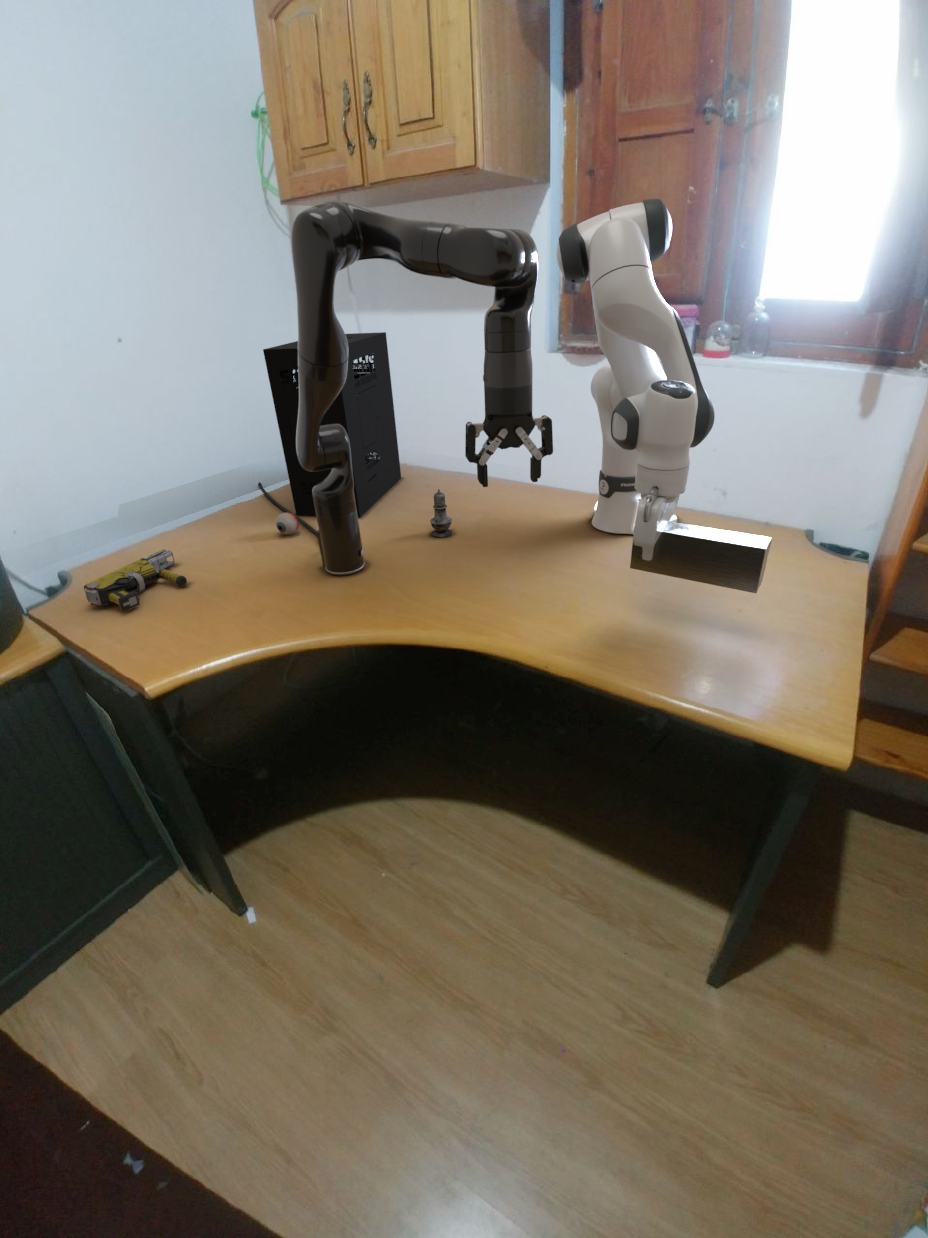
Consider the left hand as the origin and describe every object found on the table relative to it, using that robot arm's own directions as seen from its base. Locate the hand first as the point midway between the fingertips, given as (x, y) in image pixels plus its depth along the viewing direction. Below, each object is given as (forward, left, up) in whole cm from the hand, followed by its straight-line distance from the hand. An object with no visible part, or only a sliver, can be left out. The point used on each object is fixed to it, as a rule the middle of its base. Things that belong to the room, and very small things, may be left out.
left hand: (509, 483), depth 102 cm
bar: (+27, +20, -19) cm, 39 cm away
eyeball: (-78, +12, -29) cm, 84 cm away
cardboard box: (-86, +44, -29) cm, 101 cm away
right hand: (+19, +20, -16) cm, 32 cm away
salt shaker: (-41, +32, -29) cm, 60 cm away
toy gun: (-81, -27, -29) cm, 90 cm away
